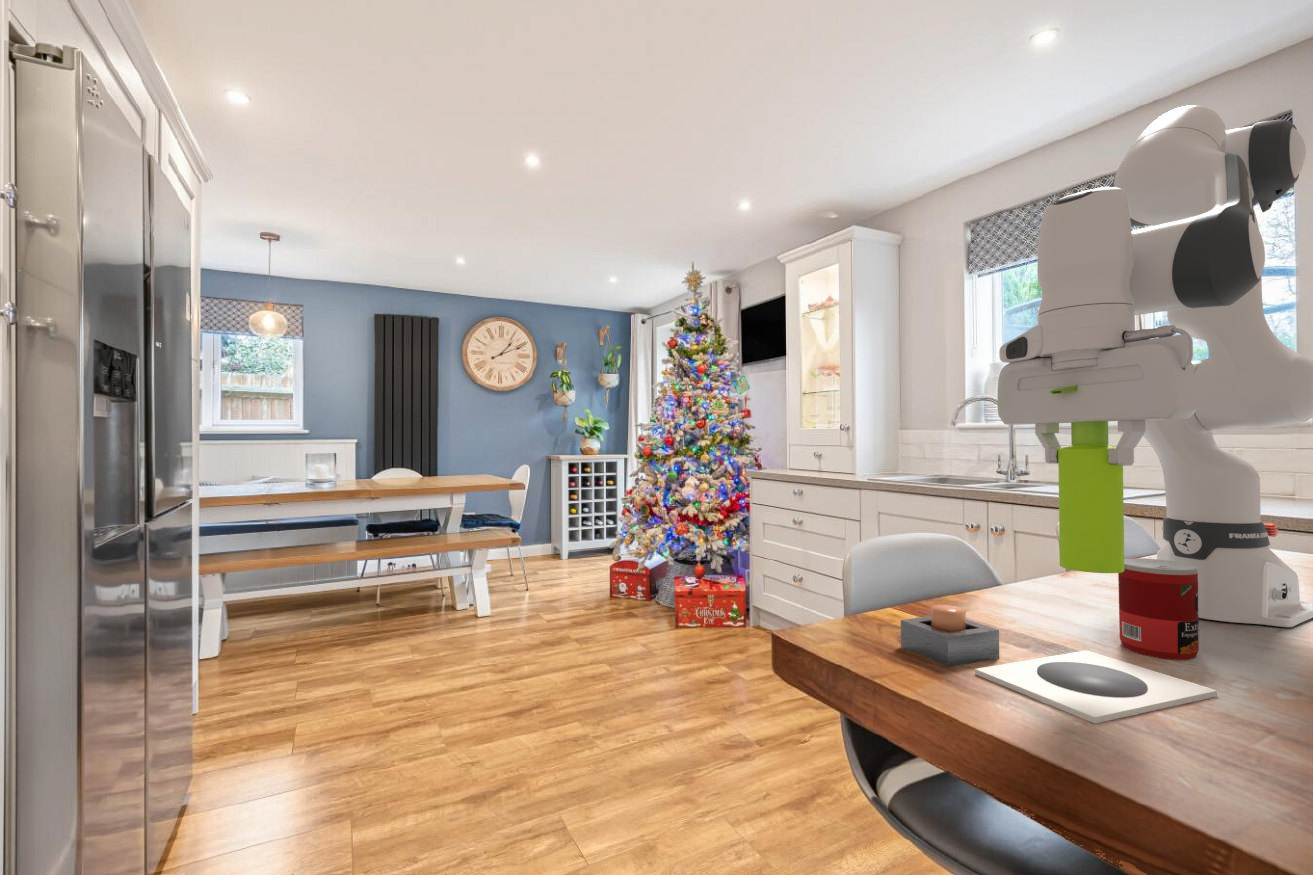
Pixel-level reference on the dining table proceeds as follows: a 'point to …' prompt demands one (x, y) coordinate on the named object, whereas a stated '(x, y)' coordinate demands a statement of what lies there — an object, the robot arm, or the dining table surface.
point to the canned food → (1159, 608)
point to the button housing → (950, 642)
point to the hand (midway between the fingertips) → (1087, 464)
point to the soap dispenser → (1090, 501)
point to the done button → (948, 618)
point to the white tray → (1095, 685)
